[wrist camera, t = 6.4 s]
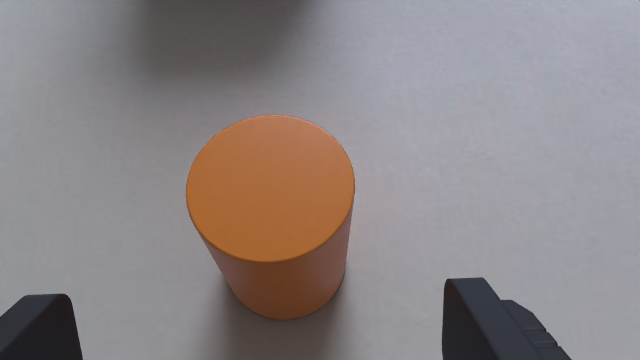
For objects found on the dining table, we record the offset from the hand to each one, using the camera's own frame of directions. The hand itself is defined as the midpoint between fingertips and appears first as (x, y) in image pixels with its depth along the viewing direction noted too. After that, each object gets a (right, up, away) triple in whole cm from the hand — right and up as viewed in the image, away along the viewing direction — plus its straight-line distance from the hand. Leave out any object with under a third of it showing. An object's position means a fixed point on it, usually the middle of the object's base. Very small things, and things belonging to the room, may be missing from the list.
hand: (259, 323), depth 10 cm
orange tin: (0, 0, +11) cm, 10 cm away
